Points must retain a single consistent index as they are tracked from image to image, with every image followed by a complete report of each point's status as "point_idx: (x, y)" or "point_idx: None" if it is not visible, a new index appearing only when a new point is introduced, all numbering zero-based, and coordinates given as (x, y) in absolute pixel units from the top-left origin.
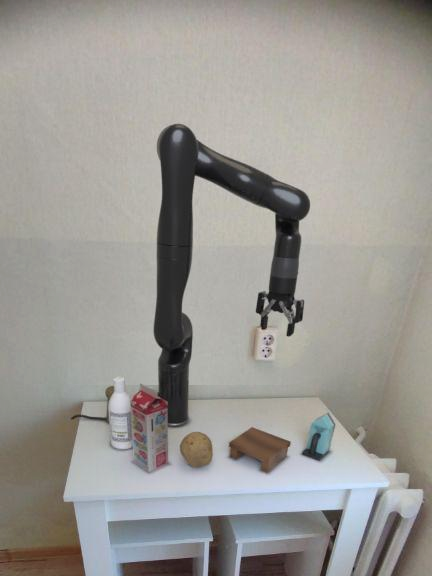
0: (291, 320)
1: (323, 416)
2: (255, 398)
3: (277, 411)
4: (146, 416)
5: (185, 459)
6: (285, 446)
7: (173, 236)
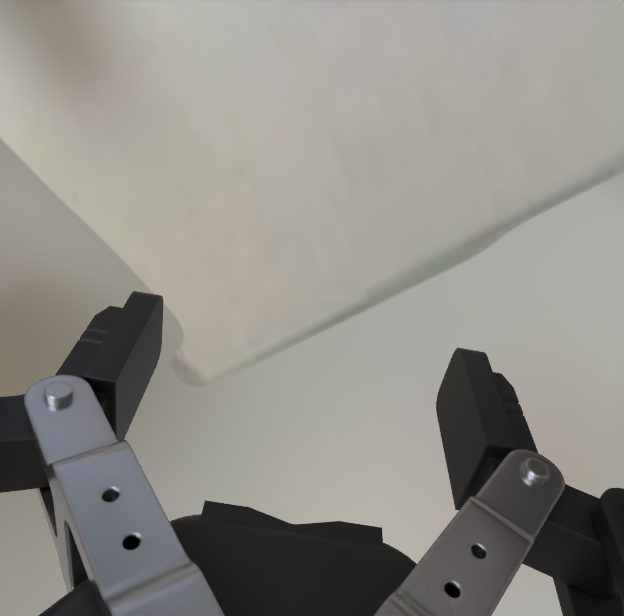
0: (39, 406)
1: None
2: (432, 263)
3: (302, 193)
4: None
5: None
6: None
7: None
